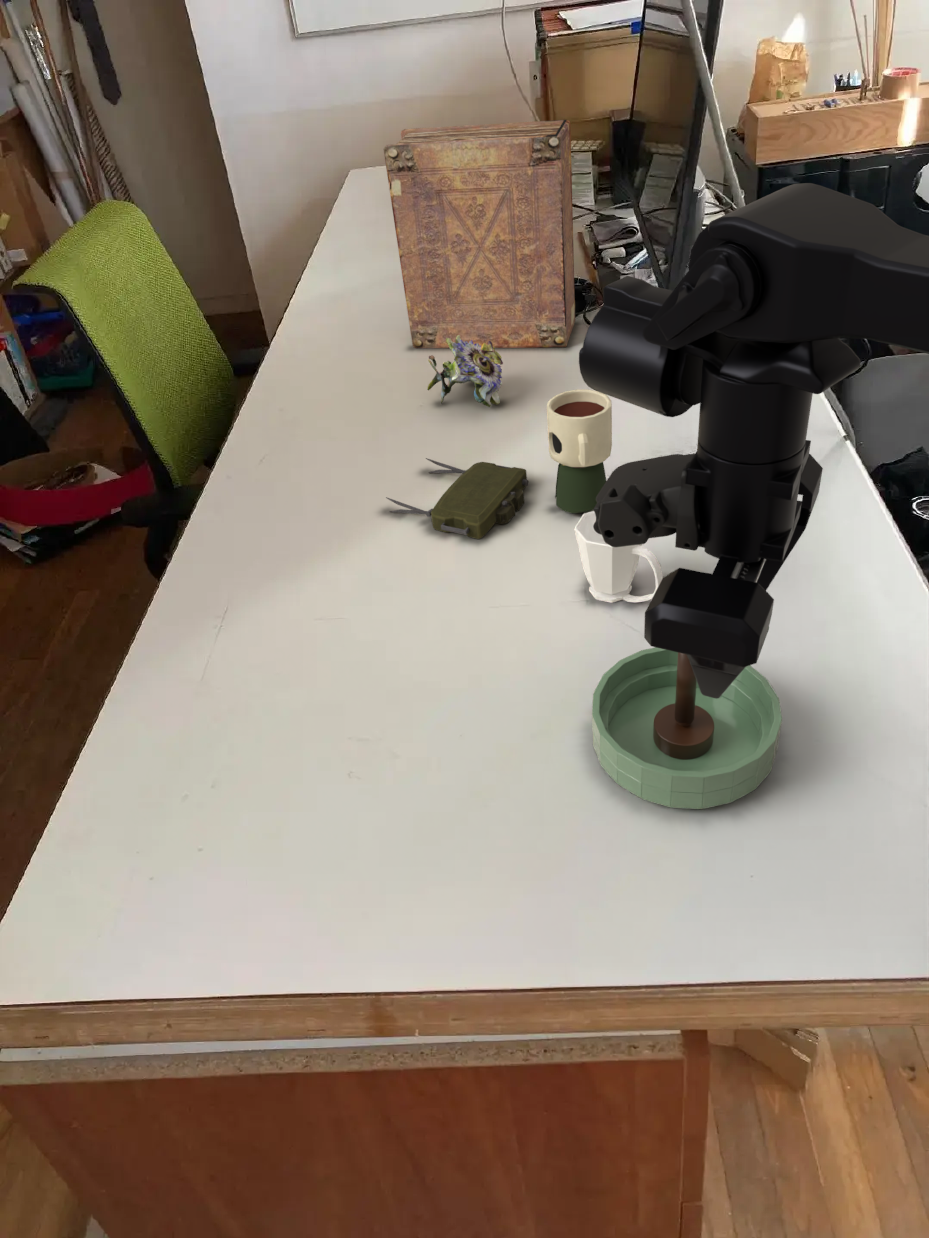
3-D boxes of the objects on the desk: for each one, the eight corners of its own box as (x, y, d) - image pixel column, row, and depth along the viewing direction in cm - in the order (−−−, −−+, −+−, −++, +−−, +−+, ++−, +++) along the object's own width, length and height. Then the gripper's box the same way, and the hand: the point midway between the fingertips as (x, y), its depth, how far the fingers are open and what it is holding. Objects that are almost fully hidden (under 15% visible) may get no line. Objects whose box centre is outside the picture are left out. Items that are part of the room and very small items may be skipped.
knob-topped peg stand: (719, 725, 80) (730, 615, 72) (704, 766, 77) (713, 655, 69) (663, 710, 82) (667, 602, 74) (645, 750, 79) (648, 641, 71)
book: (411, 348, 150) (381, 146, 131) (426, 325, 157) (399, 129, 137) (567, 348, 144) (560, 135, 125) (576, 323, 150) (570, 118, 131)
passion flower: (496, 437, 135) (503, 397, 124) (422, 429, 135) (421, 389, 124) (502, 368, 138) (509, 322, 127) (429, 360, 138) (430, 314, 127)
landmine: (488, 527, 103) (375, 503, 110) (490, 546, 105) (379, 521, 112) (540, 464, 113) (434, 445, 119) (542, 483, 114) (437, 463, 121)
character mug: (548, 482, 114) (543, 384, 106) (606, 476, 114) (605, 378, 106) (555, 532, 106) (549, 430, 98) (618, 526, 105) (617, 424, 97)
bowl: (792, 705, 82) (798, 667, 79) (751, 836, 72) (756, 799, 69) (626, 665, 88) (626, 629, 85) (567, 781, 78) (565, 745, 75)
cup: (607, 561, 101) (606, 498, 96) (681, 599, 95) (685, 533, 89) (562, 591, 97) (559, 528, 92) (636, 633, 91) (637, 567, 86)
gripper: (659, 353, 61) (653, 547, 70) (551, 504, 48) (562, 714, 58) (839, 371, 56) (806, 576, 66) (770, 542, 44) (742, 762, 54)
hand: (729, 649), depth 61 cm, fingers open, 9 cm apart
